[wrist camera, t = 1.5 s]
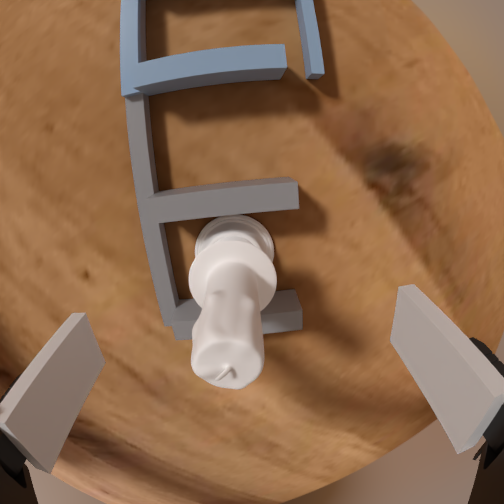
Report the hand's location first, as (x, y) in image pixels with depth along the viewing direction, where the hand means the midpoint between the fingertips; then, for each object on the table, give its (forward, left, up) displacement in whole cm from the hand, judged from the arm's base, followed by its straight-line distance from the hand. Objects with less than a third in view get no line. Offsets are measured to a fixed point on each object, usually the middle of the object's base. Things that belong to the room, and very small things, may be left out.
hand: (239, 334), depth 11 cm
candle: (0, 0, -10) cm, 10 cm away
